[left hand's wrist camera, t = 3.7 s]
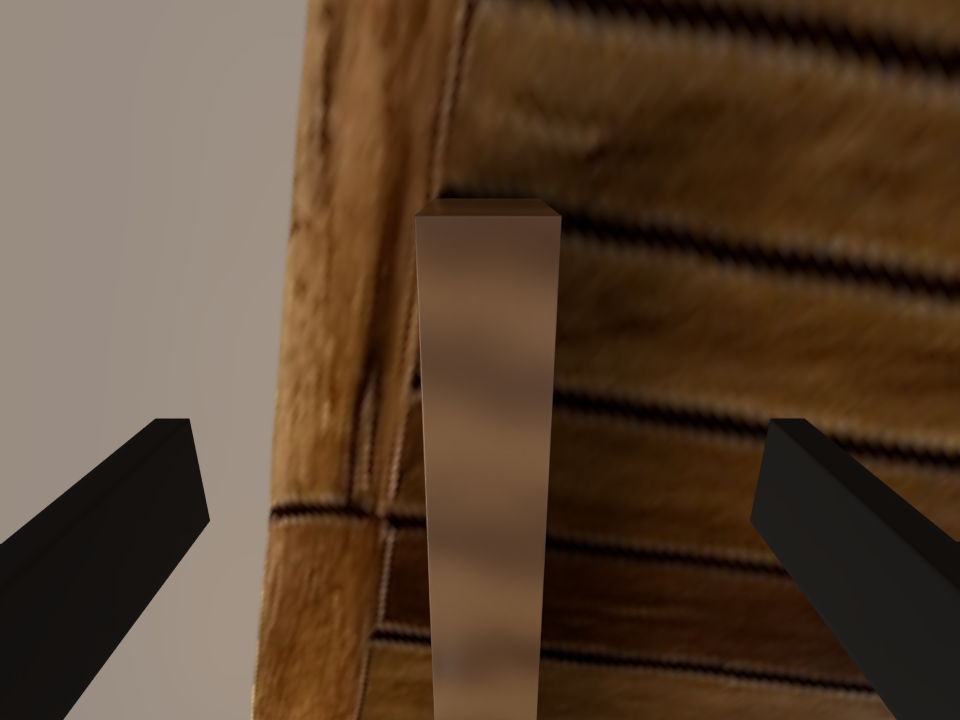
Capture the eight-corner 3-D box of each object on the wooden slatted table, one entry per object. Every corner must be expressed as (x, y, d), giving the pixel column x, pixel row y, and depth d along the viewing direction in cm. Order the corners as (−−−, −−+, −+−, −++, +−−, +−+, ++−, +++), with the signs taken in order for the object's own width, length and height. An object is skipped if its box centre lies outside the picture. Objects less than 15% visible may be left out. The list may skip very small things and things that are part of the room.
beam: (433, 198, 25) (414, 215, 18) (540, 198, 25) (561, 215, 18) (452, 864, 41) (445, 1008, 34) (515, 865, 41) (522, 1009, 34)
